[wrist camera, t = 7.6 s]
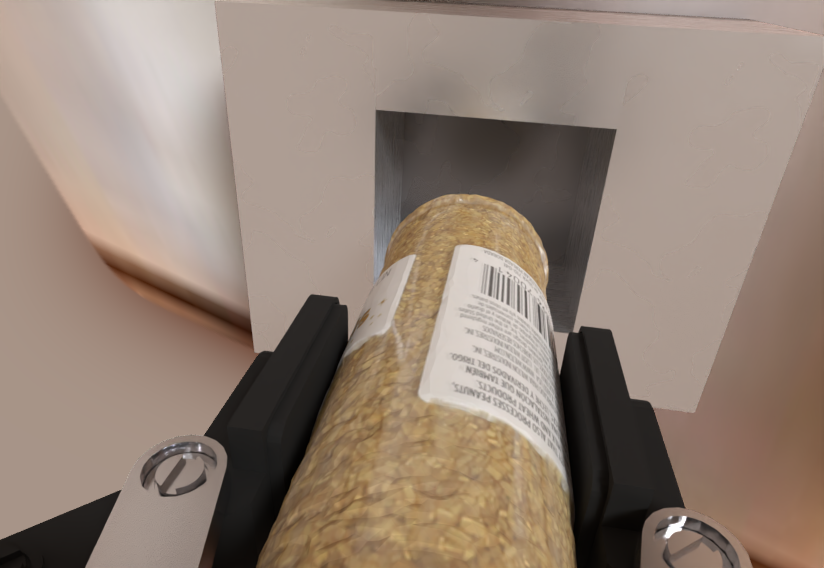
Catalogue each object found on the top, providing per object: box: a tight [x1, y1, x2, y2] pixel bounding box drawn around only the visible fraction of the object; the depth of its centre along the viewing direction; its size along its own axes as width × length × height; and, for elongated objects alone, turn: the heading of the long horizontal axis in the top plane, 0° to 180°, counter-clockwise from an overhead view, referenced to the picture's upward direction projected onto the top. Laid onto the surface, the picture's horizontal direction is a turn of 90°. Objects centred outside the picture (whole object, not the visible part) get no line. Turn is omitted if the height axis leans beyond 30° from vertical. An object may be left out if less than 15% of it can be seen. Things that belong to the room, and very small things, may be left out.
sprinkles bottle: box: [256, 194, 577, 568], centre depth 10 cm, size 5×5×14 cm
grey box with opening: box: [215, 0, 824, 413], centre depth 20 cm, size 16×12×6 cm
